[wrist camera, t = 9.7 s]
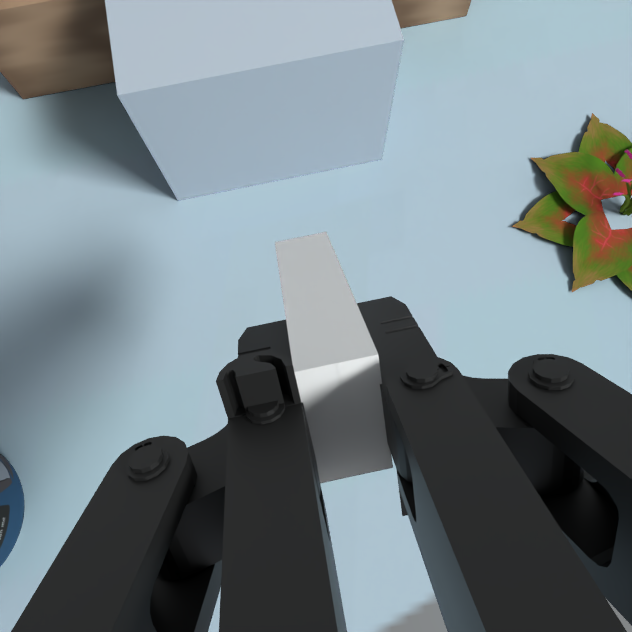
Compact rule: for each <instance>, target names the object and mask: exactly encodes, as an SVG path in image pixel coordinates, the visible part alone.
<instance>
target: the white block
mask: <svg viewBox="0 0 632 632" xmlns="http://www.w3.org/2000/svg"><path fill="white" fill-rule="evenodd" d="M105 6H106V13H107V21H108V28H109V36H110V44H111V51H112V59H113V66H114V74H115V82H116V89H117V96H118V97H119V99H120V101H121V103H122V104H123V106H124V108H125V110H126V111H127V113H128V115H129V116H130V118H131V120H132V122H133V123H134V125H135V127H136V129H137V130H138V132H139V134H140V136H141V137H142V139H143V141H144V142H145V144H146V146H147V148H148V149H149V151H150V153H151V155H152V156H153V158H154V160H155V162H156V163H157V165H158V167H159V169H160V170H161V172H162V174H163V175H164V177H165V179H166V181H167V182H168V184H169V186H170V188H171V189H172V191H173V193H174V195H175V196H176V198H177V200H178V201H180V200H185V199H190V198H195V197H200V196H205V195H210V194H215V193H220V192H225V191H230V190H235V189H240V188H244V187H249V186H254V185H259V184H264V183H269V182H274V181H279V180H284V179H289V178H294V177H299V176H304V175H309V174H314V173H318V172H323V171H328V170H333V169H338V168H343V167H348V166H353V165H358V164H363V163H368V162H373V161H378V160H382V157H383V151H384V146H385V140H386V135H387V130H388V124H389V119H390V113H391V108H392V103H393V97H394V92H395V86H396V81H397V76H398V70H399V65H400V59H401V54H402V49H403V43H404V38H403V34H402V31H401V28H400V25H399V22H398V19H397V16H396V13H395V10H394V6H393V3H392V0H105Z"/></svg>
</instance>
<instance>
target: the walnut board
mask: <svg viewBox="0 0 632 632" xmlns="http://www.w3.org/2000/svg"><path fill="white" fill-rule="evenodd" d="M392 3H393V6H394V10H395V13H396V16H397V19H398V22H399V25H400V28H404V27H410V26H415V25H420V24H426V23H431V22H436V21H442V20H447V19H452V18H458V17H463V16H466V15H467V12H468V9H469V6H470V3H471V0H392ZM0 72H1V73H2V74H3V76H4V77H5V78H6V79H7V80H8V82H9V83H10V84H11V85H12V86H13V87H14V89H15V90H16V91H17V92H18V93H19V95H20V96H21V97H22V98H23V99H26V98H32V97H37V96H42V95H48V94H53V93H58V92H64V91H69V90H74V89H80V88H85V87H90V86H96V85H101V84H106V83H111V82H115V74H114V66H113V59H112V51H111V44H110V36H109V28H108V21H107V13H106V6H105V0H0Z"/></svg>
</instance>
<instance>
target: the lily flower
mask: <svg viewBox="0 0 632 632" xmlns="http://www.w3.org/2000/svg"><path fill="white" fill-rule="evenodd" d="M599 121H600V120H599V119H598V118H597V117H596V116H595V115H594V114H593V113H592V116H591V120H590V123H589V125H588V127H587V129H588V131H587V132H585V133H584V135H583V138H582V141H581V144H580V148H579V152H570V153H564V154H558V155H553V156H550V157H549V158H546V159H542V158H531V159H532V160H533V161H534V162H535V163H537V165H538V167H539V168H540V169H541V170H542V171H543V172H545V173H546V177H547V178H548V179H549V181H550V182H551V183H552V184H553V185H554V187H555V189H556V190H557V191H555V192H552V193H550V194H548V195H547V196H545V197H544V198H542V199H541V200H540V201H539V202H537V203H536V204H535V205H534V206H533V207H532V208H531V209H530V210H529V212H528V213H527V214H526V216H525V218H524V220H523V221H519V222H518V223H516V224H515V225H513V226H512V227H516V228H521V229H523V230H525V231H528V232H530V233H537V234H538V235H539V236H540V237H542V238H545V239H548V240H551V241H554V242H556V243H560V244H562V245H566V246H571V247H573V273H574V277H575V279H576V280H575V281H574V282H573V287H572V292H573V291H575V290H577V289H579V288H580V287H584V286H587V285H590V284H592V283H594V282H595V281H596V280H600V281H602V280H605V279H607V278H610V277H612V276H615V275H617V276H618V278H619V279H620V280H621V281H622V282H623V283H624V284H625V285H626V286H627V287H628V288H629V289H630V290H631V291H632V228H629V229H619V230H611V228H610V225H609V223H608V221H607V218H606V216H605V214H604V212H603V207H602V203H601V200H602V199H607V198H611V197H616V196H620V195H623V196H625V198H626V199H625V201H624V204H623V205H622V206H621V208H620V212H619V213H621V212H623V213H622V214H623V215H628V216H629V215H630V214H632V198H631V195H632V143H631V142H630V141H629V139H628V138H627V137H626V136H625V135H623V134H622V133H621V132H619V131H618V130H616V129H614V128H613V127H611V126H609V125H608V124H603V123H599ZM605 160H606V162H607V163H608V164H609V165H611V166H612V167H613V168H614V169H615V173H614V174H613V172H612V170H611V169H610V168H609V167H608V165H607V164H606V163H605ZM630 198H631V199H630ZM575 210H576V211H578V212H580V213H582V214H584V215H586V216H584V217H583V218H582V219H581V220H580V221H579V222H578V224H577V225H574V224H571V223H568V222H566V221H562V220H564V219H565V218H566V217H568V216H569V215H571V214H572V213H573V212H574V211H575Z"/></svg>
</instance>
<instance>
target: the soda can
mask: <svg viewBox="0 0 632 632" xmlns="http://www.w3.org/2000/svg"><path fill="white" fill-rule="evenodd" d="M23 517H24V494H23V489H22V485H21V482H20V480H19V477H18V475H17V473H16V471H15V470H14V468H13V467H12V465H11V464H10V463H9V461H8V460H7V459H6V458H5V457H4V456H2V455H1V454H0V566H1V565H2V564H3V563H4V561H5V560H6V559H7V557H8V556H9V554H10V552H11V551H12V549H13V547H14V545H15V543H16V541H17V538H18V536H19V533H20V530H21V527H22V522H23Z"/></svg>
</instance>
